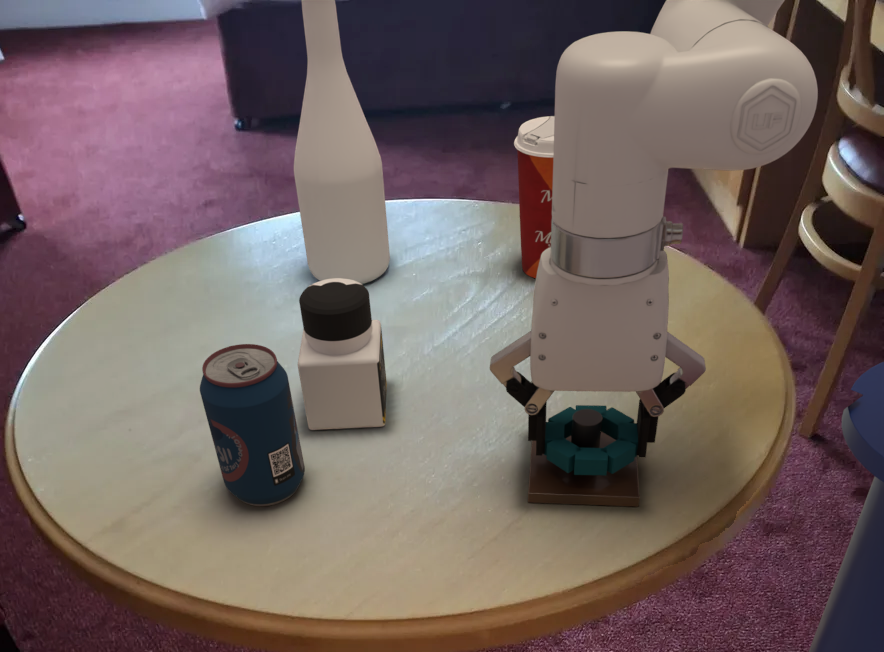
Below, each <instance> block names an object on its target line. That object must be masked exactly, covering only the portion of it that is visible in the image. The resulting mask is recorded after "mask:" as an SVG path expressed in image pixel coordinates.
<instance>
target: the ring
mask: <svg viewBox="0 0 884 652" xmlns="http://www.w3.org/2000/svg"><path fill="white" fill-rule="evenodd" d="M583 409H591V410H595V411H597V412H599V413H600V414H601V415H602V428H601V432H603V433H605V434H606V435H608V436H610V437H612V438H613V439H615V440H616V441H614V442H612V443H611V444H609V445H607V446H606V447H604V448H580V447H578V446H576V445H575V444H573V443H572V442H570V441H568V440H567V439H566V438H568V437H569V436H571V433H572V419H573V415H574V413H575V412H577V411H579V410H583ZM637 447H638V431H637V422H635V419H634V418H632V417H631V416H628V415H627V414H625V413H623V412H622V411H620V410H618V409H616V408H615V407H613V406H611V407H610V408H607V405H597V404H596V405H594V404H591V405H590V404H588V405H585V404H584V405H583V404H577V405H575V408H573V407H572V406H568V407H566V408H565V409H563V410H561V411H560V412H558V413H555V414H554V415H552V416H551V417H548V418H547V421H546V431H545V454H544V455H547V457H546V459H547V460H549V461H550V462H552V463H553V464H555V465H556V466H558V467H559V468H561V469H563V470H564V471H566V472H567V473H569V472H571V471H573V470H574V475H605V476H606V475H607V471H608V472H610V473H611V474H613V473H615V472H616V471H618V470H620V469H621V468H623V467H625V466H626V465H628V464H630V463H631V462H633V461H634V459H635V457H637V458H638V456H637Z"/></svg>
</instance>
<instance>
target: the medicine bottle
mask: <svg viewBox="0 0 884 652" xmlns="http://www.w3.org/2000/svg"><path fill="white" fill-rule="evenodd" d="M298 302H299V309H300V315H301V321H302V326H303V329H302V335H301V341H300V347H299V353H298V358H297V369H298V376H299V381H300V387H301V388H300V389H301V393H302V399H303V404H304V411H305V416H306V422H307V427H308V429H309V430H311V431H317V430H339V429H359V428H360V429H361V428H380V427H381V428H382V427H384V426H385V425H386V417H387V416H386V415H387V414H386V413H387V389H388V388H387V387H388V383H387V371H386V362H385V350H384V341H383V340H384V339H383V330H382V329H383V328H382V323H381V321H380V320H379V319H372V310H371V301H370V292H369V289H367V287H366V286H365V285H364V284H361V283H359V282H357V281H354V280H350V279H343V278H332V279H326V280H322V281H319V280H318V281H317V282H313V283H311V284H310V285H308V286H307V287H306V288H305V289H304V290H303V291H302V293H300V295H299V298H298Z"/></svg>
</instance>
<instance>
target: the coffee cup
mask: <svg viewBox="0 0 884 652" xmlns="http://www.w3.org/2000/svg"><path fill="white" fill-rule="evenodd" d="M554 119H555V115H550V116H540V117H536V118H532V119H529V120H527V121H525V122H523V123H522V124H521V125H520V127H519V128H518V131H517V136H516V137H515V139H514V141H513V146H514V147H515V149H516V150H517V154H516V155H517V177H518V206H519V207H518V208H519V229H520V230H519V233H520V235H519V236H520V251H521V252H520V254H521V268H522V271H523V273H524V274H525V275H527V276H528V277H531V278H533V279H536V276H537V270H538V266H539V262H540V258H541V254H542V253H543V251H545V250H546V249H548V248H550V247H551V225H552V189H553V155H554Z"/></svg>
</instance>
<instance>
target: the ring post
mask: <svg viewBox="0 0 884 652" xmlns="http://www.w3.org/2000/svg"><path fill="white" fill-rule="evenodd" d="M601 428H602V415H601V414H600V413H599V412H597V411H595V410H591V409H583V410H579V411H577V412H575V413H574V415H573V419H572V433H571V436H569V437H568V438H566V439H567V440H568V441H570V442H572V443H573V444H575V445H576V446H578V447H580V448H604V447H606V446H607V445H609V444H611V443H612V442H614V441H616V440H615V439H613V438H612V437H610V436H608V435H606V434H605V433H603V432H601ZM530 447H531V449H530V460H529V461H530V462H529V474H528V475H529V476H528V491H527V503H532V504H555V505H556V504H560V505H584V506H585V505H586V506H608V507H609V506H610V507H611V506H612V507H614V506H615V507H618V506H619V507H634V508H635V507H639V503H640V498H641V497H640V481H639V468H638V467H639V466H638V456H637V457H635V459H634V461H633V462H631V463H630V464H628V465H626V466H625V467H623V468H621V469H620V470H618V471H616V472H615V473H613V474H611V473H610V472H608V471H607V475H606V476H605V475H574V470H573V471H571V472H569V473H567V472H566V471H564V470H563V469H561V468H559V467H558V466H556V465H555V464H553V463H552V462H550V461H549V460H547V459H546V457H547V455H544V454H542V456H540V455H536V441H531V446H530Z"/></svg>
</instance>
